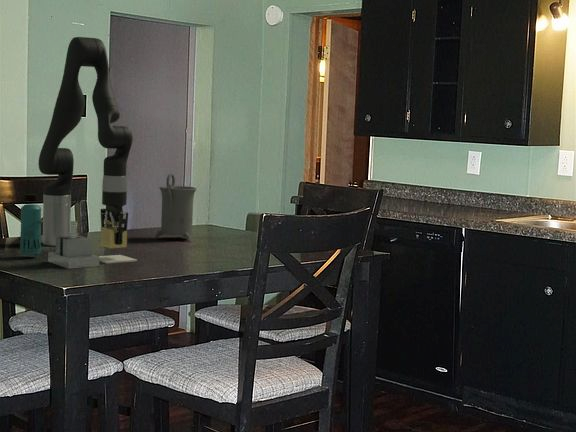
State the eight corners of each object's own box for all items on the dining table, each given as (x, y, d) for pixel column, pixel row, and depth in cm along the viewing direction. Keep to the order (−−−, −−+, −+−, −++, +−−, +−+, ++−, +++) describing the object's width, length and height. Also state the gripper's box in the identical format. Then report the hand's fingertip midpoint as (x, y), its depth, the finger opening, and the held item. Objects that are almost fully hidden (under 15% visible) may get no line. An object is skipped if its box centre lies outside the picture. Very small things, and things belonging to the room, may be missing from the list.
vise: (48, 261, 283) (48, 219, 281) (78, 259, 289) (78, 218, 287) (68, 268, 272) (69, 224, 270) (99, 266, 278) (100, 223, 277)
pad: (89, 258, 292) (89, 256, 292) (120, 256, 299) (120, 254, 299) (105, 263, 283) (105, 262, 283) (137, 261, 290) (137, 259, 290)
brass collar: (100, 245, 291) (100, 226, 290) (117, 244, 295) (117, 226, 294) (109, 248, 286) (109, 229, 286) (126, 247, 290) (127, 228, 289)
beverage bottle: (19, 259, 285) (20, 194, 283) (19, 255, 291) (20, 192, 289) (41, 259, 287) (42, 195, 285) (41, 255, 293) (41, 193, 291)
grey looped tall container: (166, 235, 355) (168, 170, 352) (202, 238, 351) (205, 172, 348) (146, 241, 337) (148, 172, 334) (184, 244, 333) (186, 174, 330)
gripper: (136, 191, 285) (135, 245, 287) (114, 187, 296) (113, 239, 298) (114, 192, 281) (113, 246, 282) (92, 188, 292) (92, 241, 294)
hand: (113, 243), depth 290 cm, fingers closed on brass collar, 6 cm apart
